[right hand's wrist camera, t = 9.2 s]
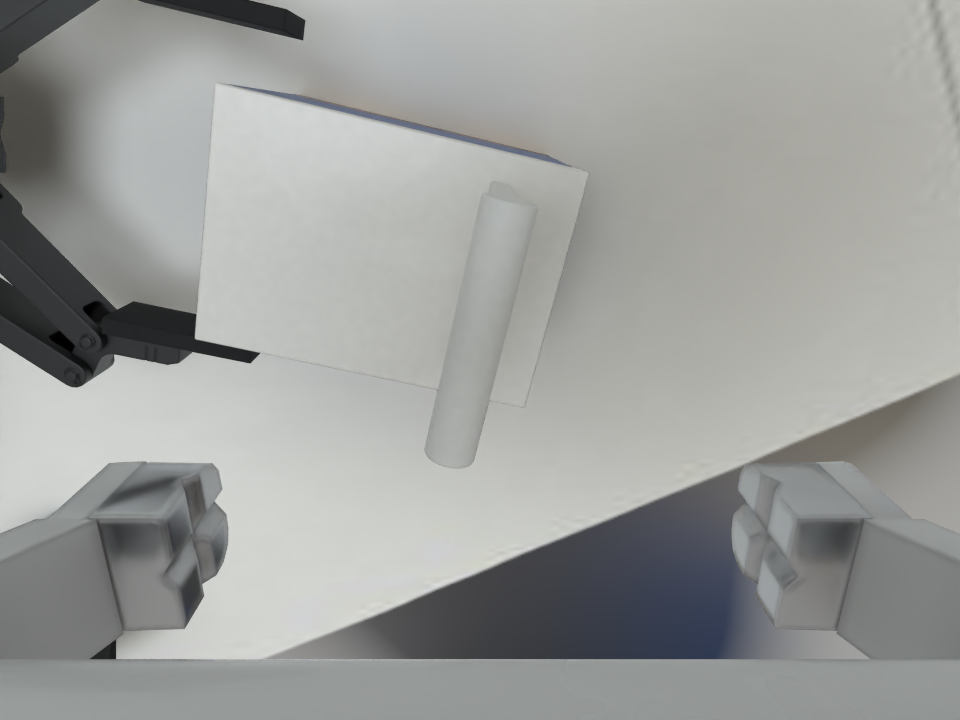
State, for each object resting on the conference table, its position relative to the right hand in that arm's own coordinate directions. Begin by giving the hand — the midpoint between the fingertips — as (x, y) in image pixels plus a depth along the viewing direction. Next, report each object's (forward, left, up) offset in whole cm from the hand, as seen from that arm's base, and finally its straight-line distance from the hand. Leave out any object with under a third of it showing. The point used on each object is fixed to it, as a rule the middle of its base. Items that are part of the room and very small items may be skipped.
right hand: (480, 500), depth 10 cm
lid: (+3, -2, -16) cm, 17 cm away
